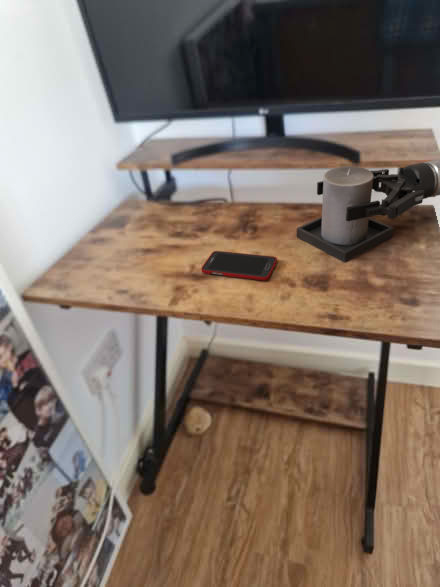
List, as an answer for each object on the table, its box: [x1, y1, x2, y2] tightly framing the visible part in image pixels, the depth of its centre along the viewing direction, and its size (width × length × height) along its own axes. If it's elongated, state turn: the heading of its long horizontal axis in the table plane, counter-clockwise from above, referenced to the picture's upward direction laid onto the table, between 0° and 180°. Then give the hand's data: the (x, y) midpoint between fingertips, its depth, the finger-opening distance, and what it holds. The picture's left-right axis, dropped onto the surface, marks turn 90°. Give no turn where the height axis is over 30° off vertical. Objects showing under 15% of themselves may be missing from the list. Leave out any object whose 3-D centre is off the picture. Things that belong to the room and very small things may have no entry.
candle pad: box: [296, 216, 395, 263], centre depth 88 cm, size 14×14×2 cm
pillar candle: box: [321, 165, 373, 246], centre depth 84 cm, size 10×10×15 cm
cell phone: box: [200, 250, 278, 281], centre depth 84 cm, size 8×15×1 cm, turn 69°
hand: (331, 200), depth 83 cm, fingers open, 13 cm apart
